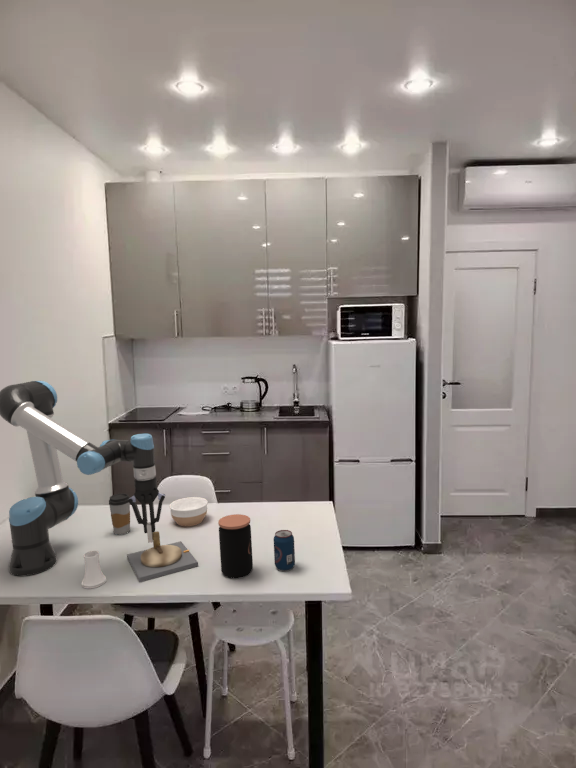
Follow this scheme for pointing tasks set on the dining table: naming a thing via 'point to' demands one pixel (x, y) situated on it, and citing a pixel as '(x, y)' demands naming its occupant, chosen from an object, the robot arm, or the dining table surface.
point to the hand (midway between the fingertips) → (150, 540)
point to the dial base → (154, 572)
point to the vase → (92, 571)
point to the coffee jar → (235, 546)
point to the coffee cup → (120, 513)
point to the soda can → (284, 550)
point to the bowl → (189, 510)
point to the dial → (160, 553)
